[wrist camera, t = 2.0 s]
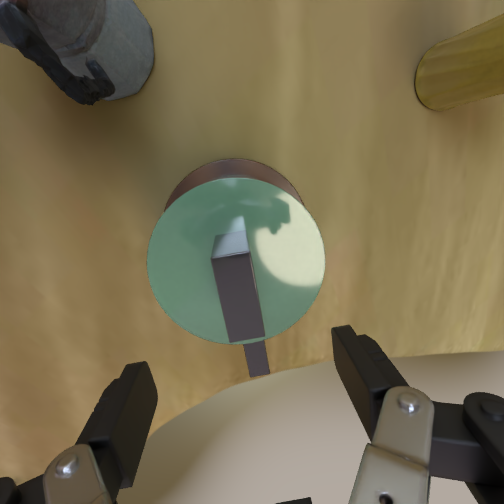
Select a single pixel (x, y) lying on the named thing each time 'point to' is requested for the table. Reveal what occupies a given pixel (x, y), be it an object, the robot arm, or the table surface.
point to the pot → (236, 263)
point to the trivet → (231, 168)
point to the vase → (463, 67)
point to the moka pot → (82, 44)
